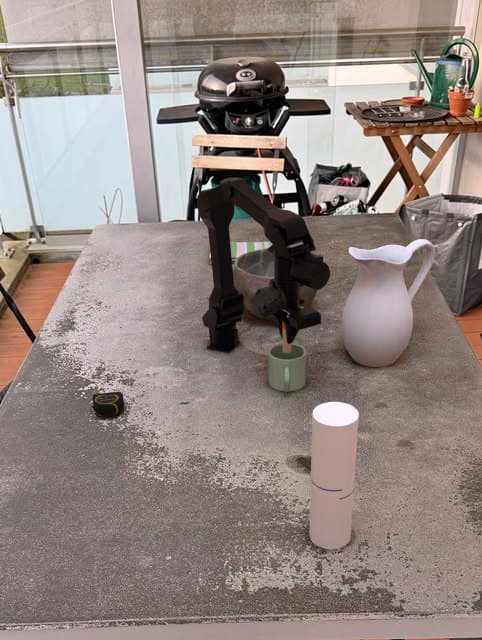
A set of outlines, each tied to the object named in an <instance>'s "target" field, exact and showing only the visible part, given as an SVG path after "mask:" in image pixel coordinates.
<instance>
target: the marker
mask: <svg viewBox="0 0 482 640" xmlns="http://www.w3.org/2000/svg"><path fill="white" fill-rule="evenodd" d="M285 318H286V317H285ZM282 328H283V340H282V343H283V352H284V353H290V352H291V344H288V343H287V338H286V327H285V323H283V322H282Z"/></svg>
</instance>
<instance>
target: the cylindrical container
mask: <svg viewBox="0 0 482 640" xmlns="http://www.w3.org/2000/svg"><path fill="white" fill-rule="evenodd" d="M311 416H312V417H311V418H312V419H311V420H312V422H311V423H312V424H311V454H310V455H311V456H310V457H311V458H310V460H311V461H310V492H309V493H310V494H309V496H310V499H309V532H308V533H309V539H310V541H311V542H312V544H314V545H315V546H317V547H319V548H321V549H324V550H338V549H341V548H344V547H345V546H347V545H348V544H349V542H350V541H351V536H352V524H353V523H352V522H353V506H354V492H355V477H356V465H357V450H358V449H357V447H358V435H359V419H360V413H359V410H358V409H357V408H356V407H355V406H353V405H352V404H349V403H346V402H342V401H328V402H322V403H321V404H319V405H317V406H315V408H314V409H313V410H312V415H311Z"/></svg>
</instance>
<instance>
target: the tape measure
mask: <svg viewBox="0 0 482 640" xmlns="http://www.w3.org/2000/svg"><path fill="white" fill-rule="evenodd" d="M92 409H93V412H94V413H96V415H98V416H100V417H113V416H116V415H119V414H121V413H122V412H123V411H124V409H125V400H124V394H123V392H121V391H111V392H102V393H95V394H92Z"/></svg>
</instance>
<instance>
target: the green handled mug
mask: <svg viewBox="0 0 482 640" xmlns="http://www.w3.org/2000/svg"><path fill="white" fill-rule="evenodd" d="M267 378H268V379H267V381H268V386H269V387H270V388H272V389H274V390H276V391H279V392H285V393H288V392H294V391H298V390H300V389H302V388H303V387H305V386H306V383H307V349H306V348H305V347H304V346H302V345H301V344H297V343H293V342H292V343H291V352H290V353H284V352H283V342H281V343H277V344H274V345H272V346H270V348H269V349H267Z"/></svg>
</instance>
